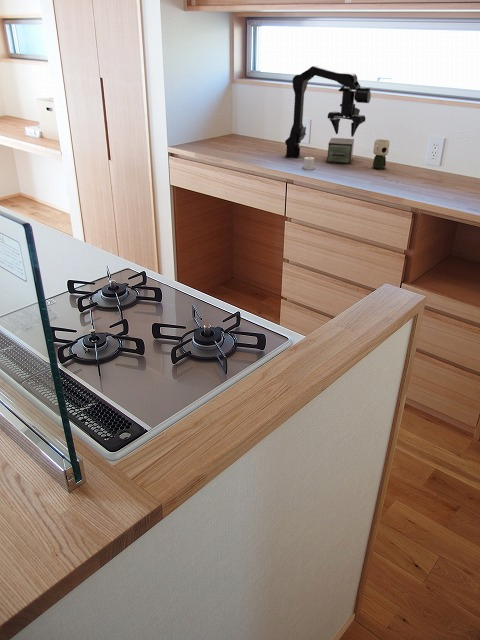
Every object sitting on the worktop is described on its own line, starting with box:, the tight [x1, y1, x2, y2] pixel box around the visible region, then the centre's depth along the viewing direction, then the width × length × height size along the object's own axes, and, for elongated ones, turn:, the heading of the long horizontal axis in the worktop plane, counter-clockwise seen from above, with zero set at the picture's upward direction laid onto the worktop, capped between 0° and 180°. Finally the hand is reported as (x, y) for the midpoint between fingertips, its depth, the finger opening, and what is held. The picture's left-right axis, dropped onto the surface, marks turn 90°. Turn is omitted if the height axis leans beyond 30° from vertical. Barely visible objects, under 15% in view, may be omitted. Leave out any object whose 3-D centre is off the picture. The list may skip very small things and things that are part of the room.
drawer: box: [327, 144, 351, 162], centre depth 274 cm, size 17×10×8 cm, turn 166°
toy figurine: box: [372, 138, 391, 170], centre depth 262 cm, size 11×7×13 cm, turn 132°
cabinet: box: [326, 137, 355, 165], centre depth 277 cm, size 14×12×10 cm
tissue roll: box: [303, 156, 315, 171], centre depth 262 cm, size 5×5×5 cm
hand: (344, 135), depth 269 cm, fingers open, 9 cm apart
